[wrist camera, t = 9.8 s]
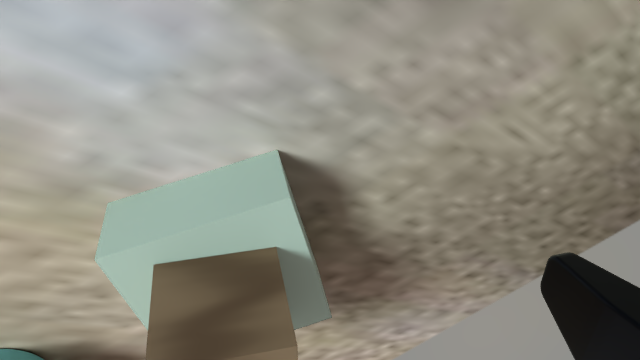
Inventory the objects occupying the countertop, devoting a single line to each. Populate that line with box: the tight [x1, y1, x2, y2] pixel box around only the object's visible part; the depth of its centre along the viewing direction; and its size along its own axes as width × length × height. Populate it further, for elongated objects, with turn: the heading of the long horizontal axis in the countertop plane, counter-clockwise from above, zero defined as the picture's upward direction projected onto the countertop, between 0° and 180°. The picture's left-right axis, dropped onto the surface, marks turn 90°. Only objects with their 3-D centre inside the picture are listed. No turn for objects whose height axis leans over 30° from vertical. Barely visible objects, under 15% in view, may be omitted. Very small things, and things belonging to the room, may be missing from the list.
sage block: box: [95, 150, 332, 330], centre depth 23 cm, size 8×8×4 cm
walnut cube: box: [146, 247, 298, 360], centre depth 19 cm, size 5×5×5 cm
